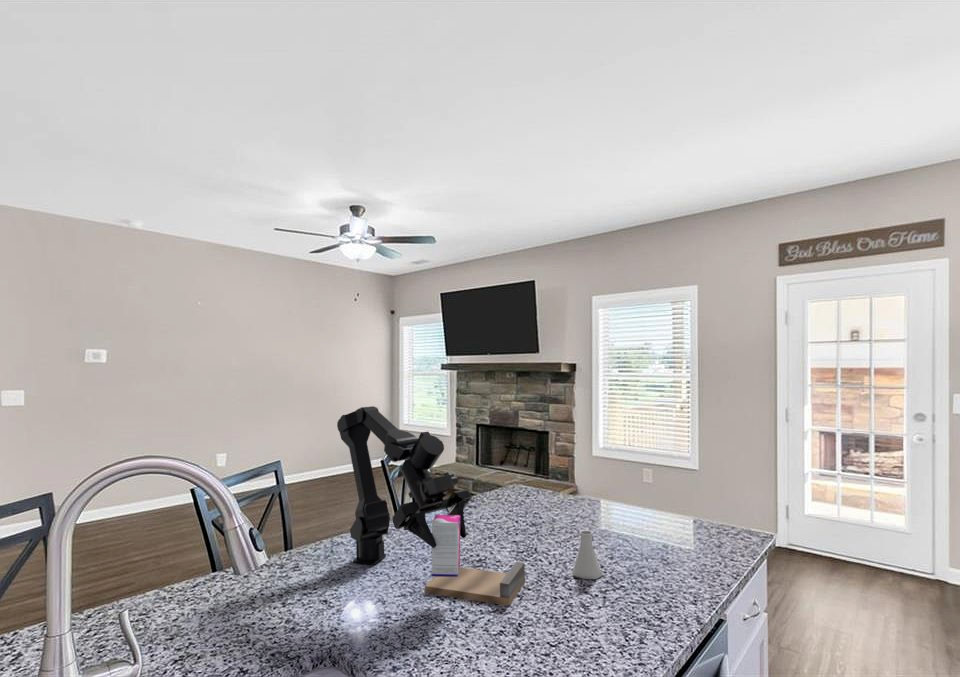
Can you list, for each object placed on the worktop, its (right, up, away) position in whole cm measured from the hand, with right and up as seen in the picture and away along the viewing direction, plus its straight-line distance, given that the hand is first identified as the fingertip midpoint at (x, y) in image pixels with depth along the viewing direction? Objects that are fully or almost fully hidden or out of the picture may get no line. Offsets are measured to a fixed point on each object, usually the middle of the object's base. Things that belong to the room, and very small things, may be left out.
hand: (450, 542), depth 111 cm
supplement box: (-1, -7, +1) cm, 7 cm away
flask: (+32, -13, +13) cm, 37 cm away
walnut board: (+5, -13, +7) cm, 16 cm away
